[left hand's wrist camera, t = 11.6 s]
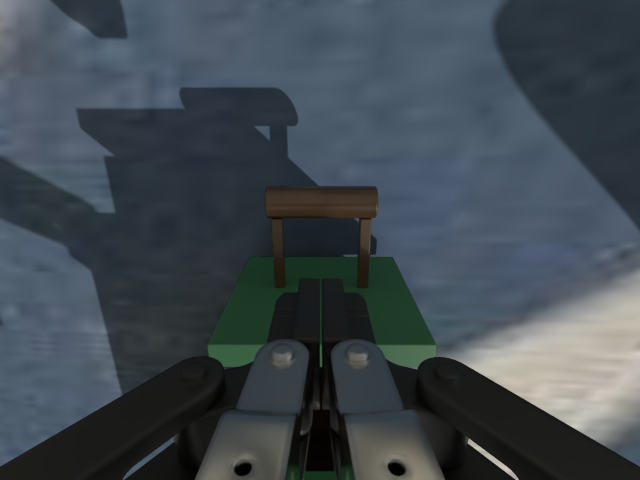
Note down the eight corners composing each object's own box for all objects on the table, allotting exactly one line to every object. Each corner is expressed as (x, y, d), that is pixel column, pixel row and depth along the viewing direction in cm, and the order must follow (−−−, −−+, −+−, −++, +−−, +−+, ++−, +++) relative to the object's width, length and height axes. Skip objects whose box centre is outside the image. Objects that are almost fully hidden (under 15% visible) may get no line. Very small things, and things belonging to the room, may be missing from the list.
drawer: (242, 172, 22) (189, 216, 13) (399, 172, 22) (454, 216, 13) (262, 432, 30) (237, 573, 21) (379, 432, 30) (405, 573, 21)
